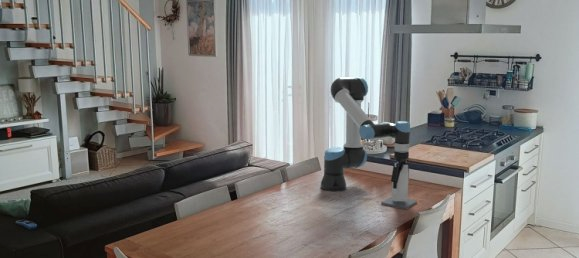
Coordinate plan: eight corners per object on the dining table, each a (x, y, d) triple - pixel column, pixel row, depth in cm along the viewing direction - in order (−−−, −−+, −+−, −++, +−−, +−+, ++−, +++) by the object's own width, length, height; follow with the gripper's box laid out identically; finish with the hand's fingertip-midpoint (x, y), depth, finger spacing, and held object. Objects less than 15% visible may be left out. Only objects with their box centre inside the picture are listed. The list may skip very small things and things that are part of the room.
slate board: (381, 204, 278) (381, 202, 278) (393, 198, 289) (393, 196, 289) (405, 209, 270) (405, 207, 270) (416, 203, 281) (416, 201, 281)
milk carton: (407, 201, 276) (409, 166, 273) (393, 201, 276) (395, 166, 273) (404, 197, 283) (406, 163, 280) (391, 197, 283) (393, 163, 280)
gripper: (398, 155, 264) (396, 198, 268) (417, 148, 281) (414, 188, 285) (385, 153, 268) (383, 195, 272) (404, 146, 286) (402, 186, 290)
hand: (399, 191), depth 279 cm, fingers closed on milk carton, 10 cm apart
